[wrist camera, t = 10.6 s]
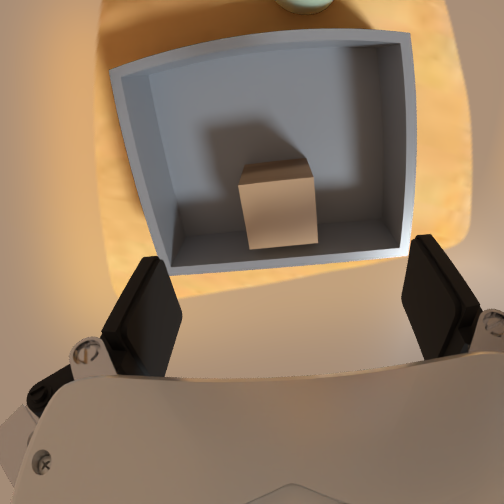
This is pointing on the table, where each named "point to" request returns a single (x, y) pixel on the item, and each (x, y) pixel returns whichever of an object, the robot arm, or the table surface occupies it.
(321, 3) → the cylinder
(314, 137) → the tote
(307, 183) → the cube
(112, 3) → the table surface
